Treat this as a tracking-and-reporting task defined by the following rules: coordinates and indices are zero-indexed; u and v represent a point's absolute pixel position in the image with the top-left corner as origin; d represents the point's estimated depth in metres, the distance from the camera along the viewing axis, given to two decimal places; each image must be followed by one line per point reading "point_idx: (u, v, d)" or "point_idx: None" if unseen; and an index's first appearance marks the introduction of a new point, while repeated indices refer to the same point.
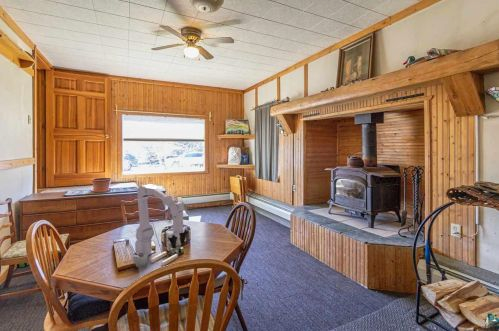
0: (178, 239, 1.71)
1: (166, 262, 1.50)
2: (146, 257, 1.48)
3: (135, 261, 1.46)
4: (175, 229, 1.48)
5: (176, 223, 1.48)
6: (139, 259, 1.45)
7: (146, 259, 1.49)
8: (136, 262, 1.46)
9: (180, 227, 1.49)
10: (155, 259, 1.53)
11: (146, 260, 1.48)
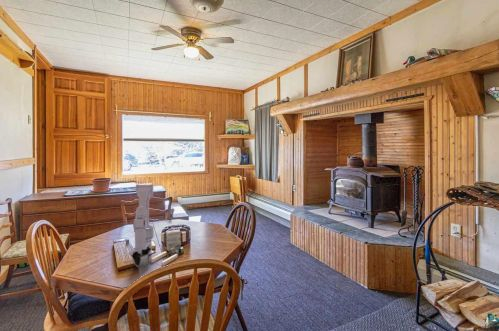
0: (178, 239, 1.71)
1: (166, 262, 1.50)
2: (146, 257, 1.48)
3: None
4: (137, 246, 1.44)
5: (135, 239, 1.45)
6: (139, 259, 1.45)
7: (146, 259, 1.49)
8: None
9: (142, 244, 1.45)
10: (155, 259, 1.53)
11: (146, 260, 1.48)
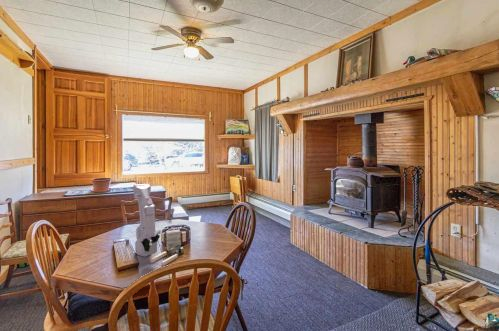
0: (178, 239, 1.71)
1: (166, 262, 1.50)
2: (156, 244, 1.50)
3: None
4: (146, 233, 1.46)
5: (145, 226, 1.46)
6: None
7: (156, 246, 1.50)
8: None
9: (152, 231, 1.47)
10: (155, 259, 1.53)
11: (155, 247, 1.50)
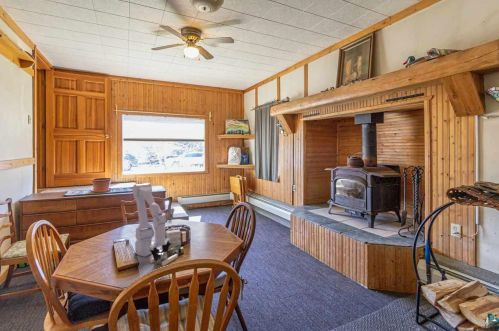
0: (178, 239, 1.71)
1: (166, 262, 1.50)
2: (166, 254, 1.53)
3: None
4: (157, 241, 1.49)
5: (157, 235, 1.48)
6: (159, 256, 1.49)
7: (166, 256, 1.53)
8: None
9: (162, 239, 1.49)
10: None
11: (165, 257, 1.53)
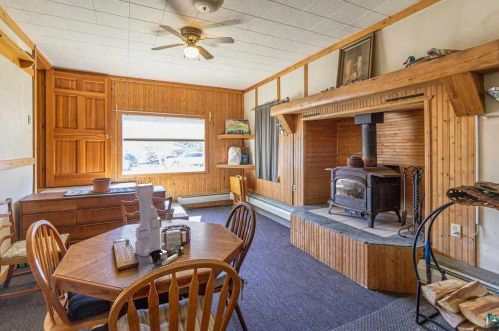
0: (178, 239, 1.71)
1: (166, 262, 1.50)
2: (166, 254, 1.53)
3: None
4: (151, 246, 1.45)
5: (150, 240, 1.45)
6: (159, 256, 1.49)
7: (166, 256, 1.53)
8: None
9: (156, 244, 1.46)
10: None
11: (166, 257, 1.53)
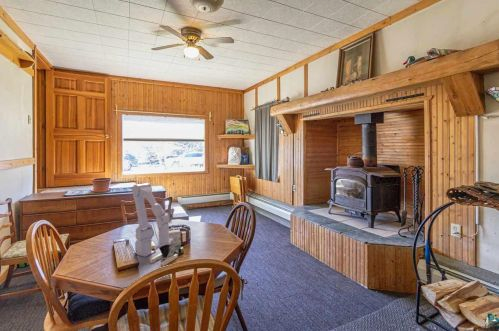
0: (178, 239, 1.71)
1: (166, 262, 1.50)
2: (173, 251, 1.58)
3: None
4: (161, 241, 1.51)
5: (161, 235, 1.50)
6: None
7: (173, 253, 1.58)
8: None
9: (166, 239, 1.51)
10: (155, 259, 1.53)
11: (172, 254, 1.58)
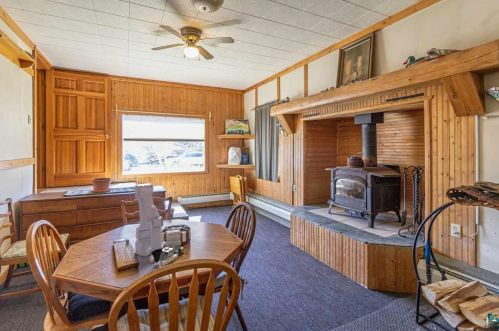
0: (178, 239, 1.71)
1: (166, 262, 1.50)
2: (172, 251, 1.57)
3: (162, 255, 1.54)
4: (153, 245, 1.46)
5: (152, 239, 1.46)
6: (166, 253, 1.53)
7: (172, 253, 1.57)
8: (163, 256, 1.54)
9: (158, 243, 1.47)
10: None
11: (172, 254, 1.57)
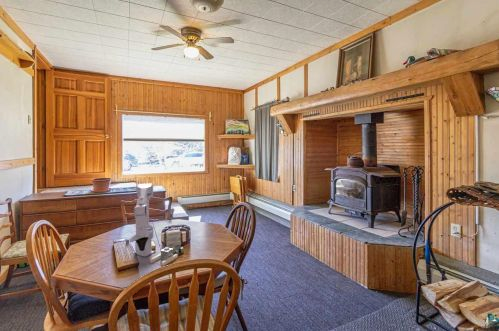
0: (178, 239, 1.71)
1: (166, 262, 1.50)
2: (172, 251, 1.57)
3: (162, 255, 1.54)
4: (138, 233, 1.42)
5: (136, 226, 1.43)
6: (166, 253, 1.53)
7: (172, 253, 1.57)
8: (163, 256, 1.54)
9: (143, 231, 1.43)
10: (155, 259, 1.53)
11: (172, 254, 1.57)
